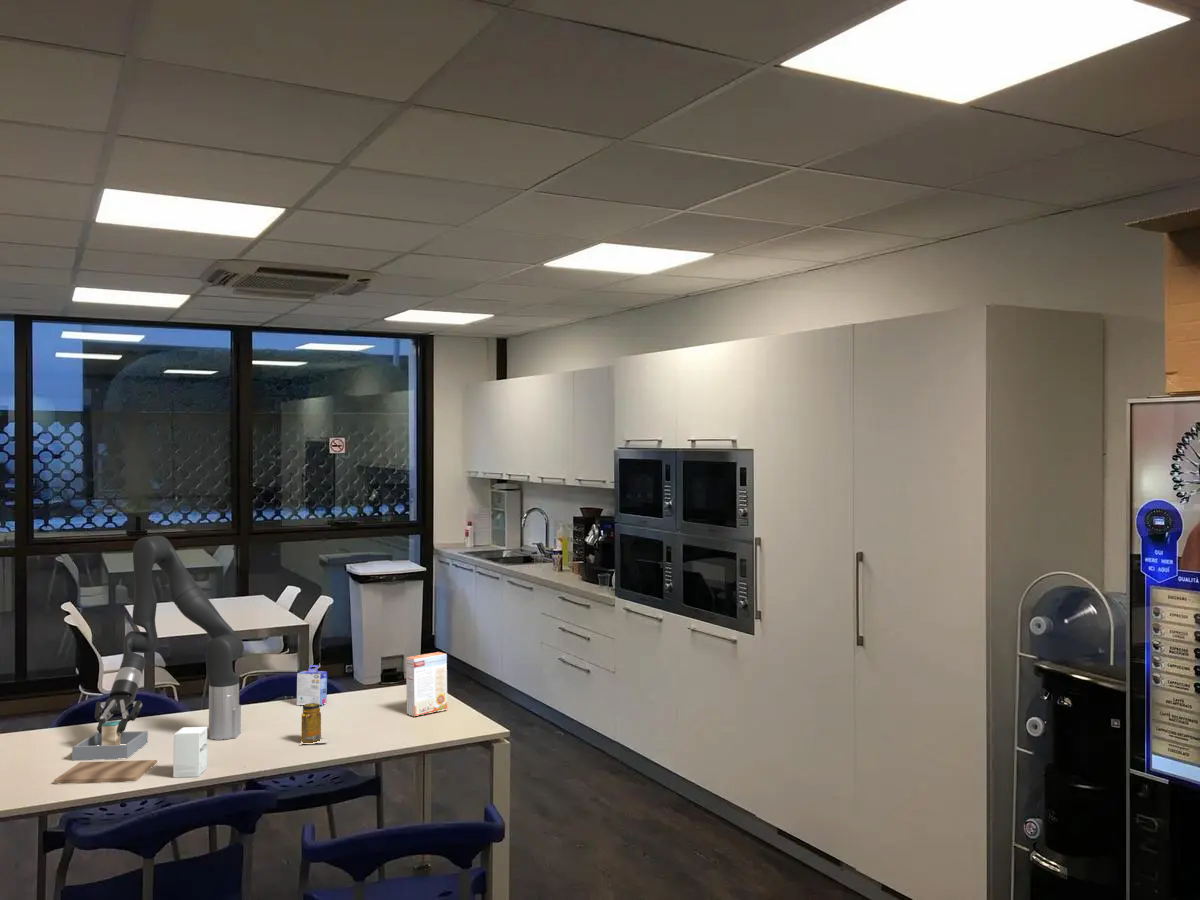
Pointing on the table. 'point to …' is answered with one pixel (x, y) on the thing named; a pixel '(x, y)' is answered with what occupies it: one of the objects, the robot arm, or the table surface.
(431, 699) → the cracker box
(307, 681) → the ink cartridge box
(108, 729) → the beech block
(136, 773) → the walnut board
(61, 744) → the table surface
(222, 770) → the table surface
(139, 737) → the parts bin
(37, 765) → the table surface
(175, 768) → the supplement box
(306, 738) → the condiment
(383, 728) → the table surface
